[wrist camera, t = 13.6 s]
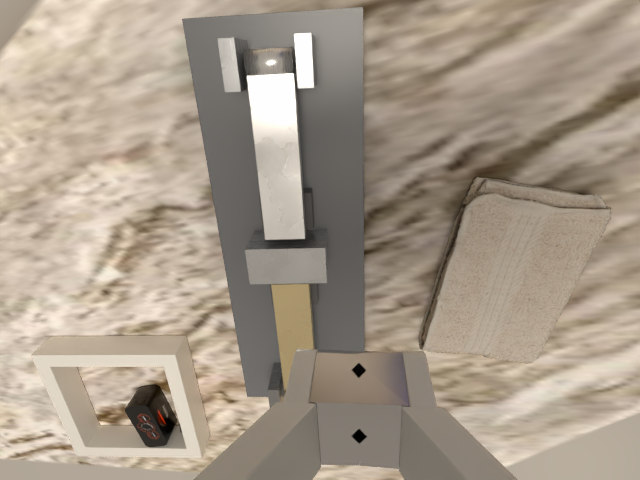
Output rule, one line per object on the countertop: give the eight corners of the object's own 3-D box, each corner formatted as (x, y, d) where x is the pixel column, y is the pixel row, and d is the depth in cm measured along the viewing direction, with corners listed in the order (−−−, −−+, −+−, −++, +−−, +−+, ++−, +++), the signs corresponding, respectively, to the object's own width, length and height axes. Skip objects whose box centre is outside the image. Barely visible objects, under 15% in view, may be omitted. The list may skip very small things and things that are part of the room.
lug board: (361, 12, 28) (365, -1, 22) (363, 375, 42) (366, 426, 36) (197, 22, 29) (159, 13, 23) (253, 375, 43) (239, 425, 37)
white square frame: (186, 335, 41) (175, 354, 38) (210, 435, 47) (202, 457, 44) (50, 336, 42) (30, 355, 39) (91, 433, 48) (76, 456, 45)
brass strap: (310, 274, 32) (308, 286, 31) (318, 389, 38) (317, 404, 36) (274, 274, 32) (270, 286, 31) (287, 389, 38) (285, 404, 36)
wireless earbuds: (161, 428, 48) (149, 452, 45) (137, 384, 45) (122, 407, 42) (196, 424, 47) (186, 448, 44) (174, 379, 44) (162, 402, 41)
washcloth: (603, 189, 33) (628, 201, 30) (528, 354, 40) (542, 376, 38) (463, 169, 33) (475, 180, 30) (415, 338, 40) (420, 359, 37)
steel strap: (294, 47, 25) (291, 45, 24) (306, 231, 30) (304, 240, 29) (249, 50, 26) (242, 48, 24) (268, 232, 31) (264, 241, 29)
